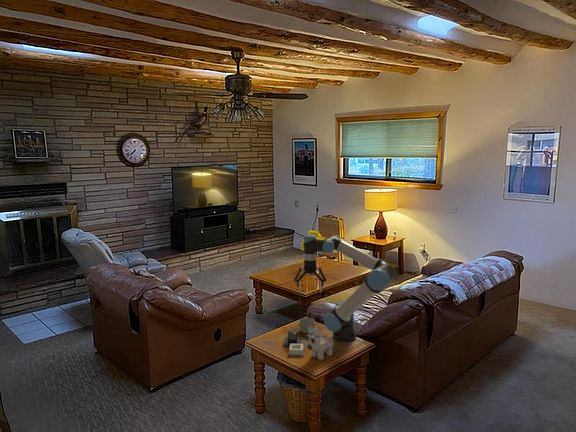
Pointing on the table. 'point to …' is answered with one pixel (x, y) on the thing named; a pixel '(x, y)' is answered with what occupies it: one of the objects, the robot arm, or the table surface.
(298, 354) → the slate mat
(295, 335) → the ring stand
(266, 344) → the table surface
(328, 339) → the toy llama
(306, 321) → the teacup
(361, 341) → the table surface
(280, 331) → the table surface
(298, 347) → the cream ring
